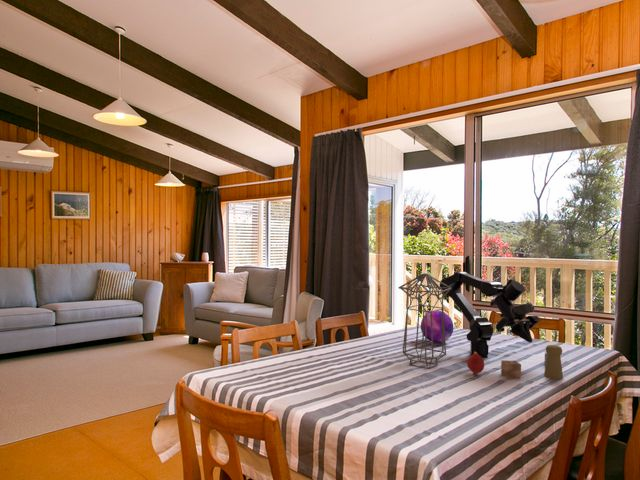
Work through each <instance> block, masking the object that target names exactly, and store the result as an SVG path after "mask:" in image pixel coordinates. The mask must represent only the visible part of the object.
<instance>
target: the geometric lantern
mask: <svg viewBox="0 0 640 480" xmlns="http://www.w3.org/2000/svg"><path fill="white" fill-rule="evenodd" d="M425 280H426V283H427V285H425V284H423V283H424V281H425ZM437 282H438V283H439V284H440V283H441V284H443V285H444V286H446V287H439V284H438V283H437ZM409 284H410V285H409ZM407 285H409V286H407ZM421 287H422V288H423V289H424V290H420V289H421ZM444 288H447V289H446V290H444V291H443V290H442V289H444ZM398 289H399V290H401V291H403V292H404V293H405V294H406V305H405V307H406V313H405V323H404V334H403V343H402V344H403V346H402V355H404V356H405V357H406V358H407V359H408V360H409V366H412V367H416V368H422V369H426V370H429V369H432V368H435V367H436V366H438V365H439V362H438V361H439V360H441V358H443V357H445V356H447V345H446V341H445V328H444V313H445V312H444V308H445V307H444V298H445V297H446V296H447V295H446V294H447V293H448V292H449V291H450V290H451V289H452V288H451V287H449V286H447V285H446V284H444V283H442V282H441V280H439V279H437V278H435V277H433V276H432V275H430V274H429V273H427V272H426V273H421V274H420V275H418V276H417V277H414V278H413V279H411V280H409V281H407V282H406V283H404V284H402V285H400V286H399V287H398ZM447 290H448V291H447ZM445 291H447V292H446V293H445V294H444V292H445ZM418 293H423V294H421V295H419V296H418ZM428 294H429V295H428ZM426 295H428V296H427V298H426V299H425V301H424V302H423V303H422V301H421V300H420V298H422V297H424V296H426ZM413 296H414V297H413ZM431 296H434V297H436V298H437V300H436V301H435V304H434V305H433V306H431V305H426V303H427V301H429V299H430V297H431ZM440 296H441V297H440ZM409 298H410V299H411V301H410V303H409ZM413 300H417V302H418V304H416V305H412V303H413ZM438 302H440V304H441V307H440V306H436V305H437V303H438ZM408 303H409V304H408ZM408 305H409V306H408ZM411 305H412V306H411ZM414 307H418V309H416V308H414ZM421 307H422V309H421ZM425 307H429V308H432V309H431V310H427V309H426V308H425ZM434 309H435V310H434ZM409 310H410V311H417V322H416V323H417V324H416V336H415V337H416V338H415V339H416V340H415V347H413V348H409V349H407V338H408V317H409ZM434 311H442V342H441V350H437V349H434V342H433V331H432V312H434ZM420 312H422V319H423V333H422V338H421V340H422V341H421V347H419V346H418V338H419V337H418V336H419V323H420ZM428 312H429V313H430V316H431V341H430V342H431V348H427V343H428V342H427V341H428V339H427V313H428ZM424 316H425V336H424ZM443 335H444V341H443ZM418 349H419V350H420V353H419V352H418ZM414 350H415V351H416V355H413V354H410V353H407V352H411V351H414ZM423 350H424V355H422V354H423ZM427 351H431V356H427ZM434 352H437V353H439V355H437V356H434ZM419 354H420V355H419ZM410 357H411V358H410ZM415 359H419V360H415ZM429 360H430V361H429ZM415 363H422V364H423V365H424V364H426V367H425V366H421V365H416V364H415ZM414 364H415V365H414ZM431 364H432V365H433V366H431ZM428 365H429V367H428Z"/></svg>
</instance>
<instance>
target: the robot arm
mask: <svg viewBox="0 0 640 480" xmlns="http://www.w3.org/2000/svg"><path fill="white" fill-rule="evenodd" d="M440 282H442V283H444V284H446V285H447V286H449V287H451V288H452V289H451V290H450V291H449V292H448V293H447V294H446V295H445V296H446V297H449V298H451V299H452V301H453V302H454V304H455V305H456V307H458V309H459V310H460V311H461V313H462V314H463V316H464V317H465V319H466V320H467V321H468V324H469V326H468V327H469V330H470V331H468V333H467V334H466V340H467V341H469V342H470V350H469V355H470V356H471V355H473V354H474V352H477V354H478V355H479V356H481V357H482V358H488V356H489V344H488V342H490V341H491V339H492V336H493V334H494V327H493V323H492V322H490V320H489V319H488V318H487V316H486V317H481V316H479V314H478V313H477V312H476V310H475V309H474V307H473V306H472V305H471V304H470V302H469V301H468V299H467V298H466V297H465V296H464V294H463V292H462V286H463V284H464V285H465V284H466V285H468V286H470V287H473V288H475V289H477V290H479V292H480V293H481V294H483V295H484V296H485V297H489V298H490V297H491V298H492V297H494V299H493V298H492V299H490V307H496V308H497V309H498V311H499V312H500V314H499V315H500V318H501V319H499V321H498V322H497V323H496V324H495V329H496V331H497V332H498V333H502V332H504V331H505V328H507V327H509V328H510V330H509V331H508V332H509V333H512V334H513V335H516V336H517V337H518V338H520V339H523V340H524V341H525V342H527V343H529V344H531V343H533V337H532V334H531V331H530V330H531V329H533V328H534V327H535V326H536V325H537V324H538V323H539V322H540V321H541V319H540V318H539V316H538V315H534V314H533V315H528V316H527V314H530V313H533V312H534V310H535V305H533V303H532V302H530V301H529V302H526V303H523V304H520V305H514V303H513V302H515V301H517V300H518V299H519V298H520V296H521V295H522V294H524V292H526V287H525V286H524V285H523V284H522V283H521V282H519V281H517V280H516V279H515V278H510V279H509V280H508V281H507V282H506V284H505V285H503V283H501V282H499V281H494V280H493V281H490V280H485V279H482V278H480V277H477V276H474V275H472V274H469V273H467V272H466V271H456V272H454V273H452V275H449V276H447V277H445V278H442V279H441V280H440ZM438 286H439V287H446V286H444V285H443V284H441V283H439V284H438ZM446 289H447V288H444V289H442V290H443V291H444V290H446ZM447 291H448V290H447ZM447 291H445V292H444V294H445V293H446V292H447Z"/></svg>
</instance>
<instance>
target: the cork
mask: <svg viewBox="0 0 640 480" xmlns="http://www.w3.org/2000/svg"><path fill="white" fill-rule="evenodd" d="M545 351H546V353H547V360H546V366H545V365H544V373H543V377H546V378H549V379H553V380H562V379H564V375H563V374H564V373H563V365H562V359H561V355H563V349H562V347H561V346H560V345H556V344H548V345H546V347H545Z"/></svg>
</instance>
